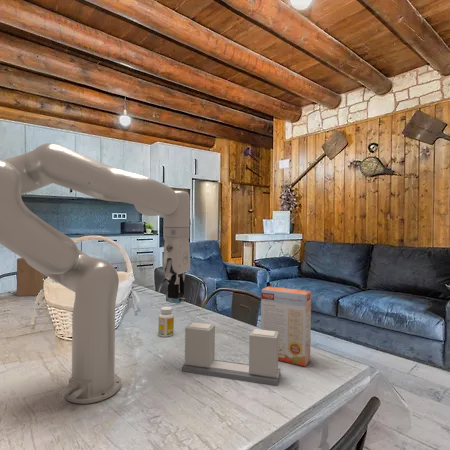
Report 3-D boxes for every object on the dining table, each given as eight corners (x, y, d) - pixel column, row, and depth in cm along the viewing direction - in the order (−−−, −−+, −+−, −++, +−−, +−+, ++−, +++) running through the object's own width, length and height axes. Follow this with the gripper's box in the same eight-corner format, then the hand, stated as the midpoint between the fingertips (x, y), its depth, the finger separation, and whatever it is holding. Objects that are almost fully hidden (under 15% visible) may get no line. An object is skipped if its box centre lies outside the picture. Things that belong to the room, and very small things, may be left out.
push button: (190, 302, 92) (190, 267, 92) (178, 306, 87) (178, 270, 87) (173, 298, 95) (173, 265, 95) (160, 302, 91) (160, 268, 91)
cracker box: (310, 360, 94) (312, 290, 94) (305, 367, 89) (306, 294, 89) (267, 349, 101) (268, 285, 101) (259, 356, 96) (260, 288, 96)
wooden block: (16, 296, 166) (16, 258, 166) (26, 292, 176) (26, 256, 176) (36, 296, 167) (36, 258, 167) (45, 292, 177) (45, 256, 177)
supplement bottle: (157, 337, 111) (157, 310, 110) (159, 332, 116) (159, 306, 116) (173, 337, 111) (173, 310, 111) (174, 331, 116) (174, 306, 116)
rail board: (277, 385, 79) (278, 338, 79) (181, 371, 86) (182, 327, 86) (280, 373, 86) (280, 329, 86) (191, 360, 93) (191, 320, 93)
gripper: (177, 235, 82) (177, 304, 83) (197, 232, 98) (197, 291, 99) (151, 234, 84) (151, 302, 85) (175, 232, 100) (175, 289, 101)
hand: (176, 295), depth 92 cm, fingers closed on push button, 3 cm apart
